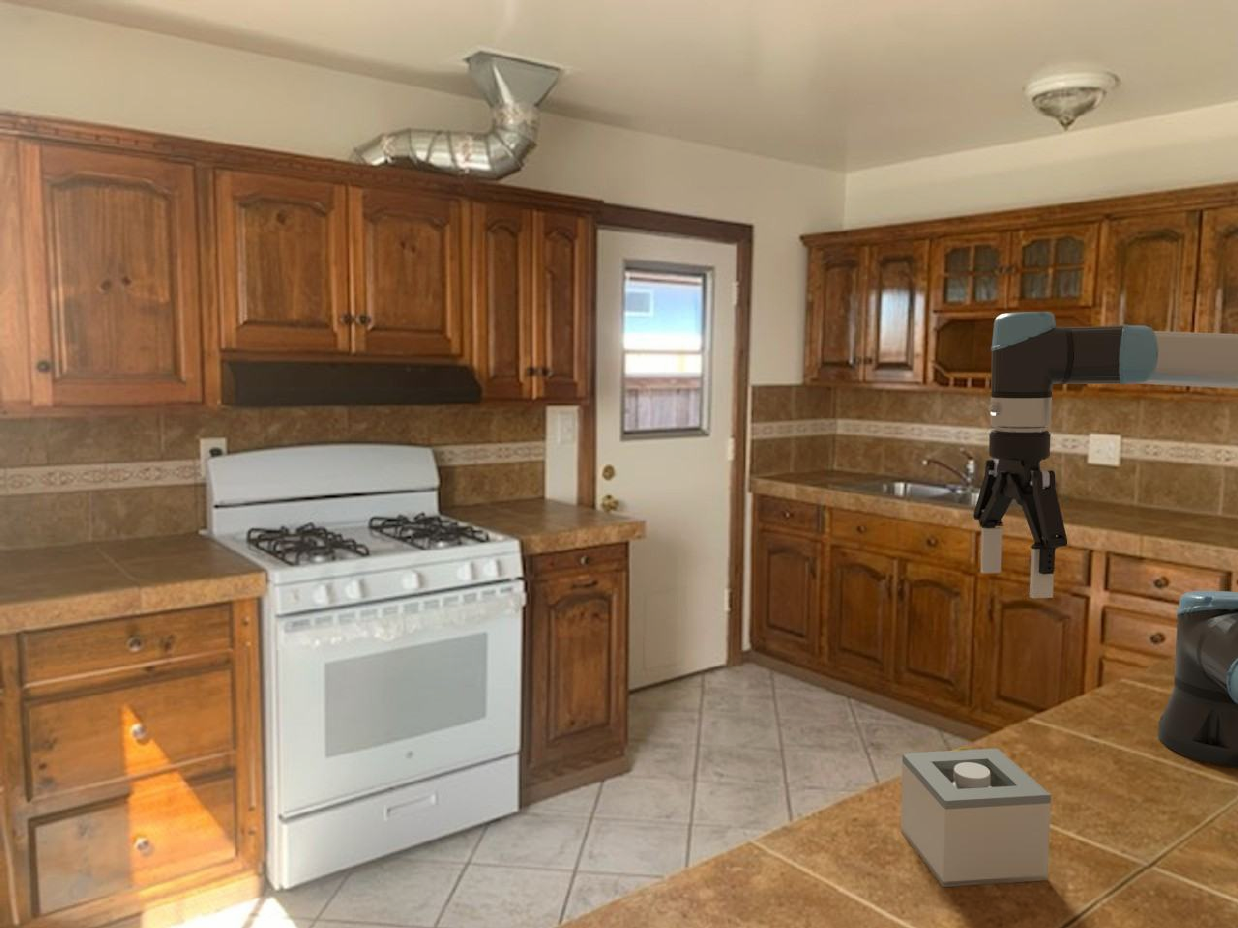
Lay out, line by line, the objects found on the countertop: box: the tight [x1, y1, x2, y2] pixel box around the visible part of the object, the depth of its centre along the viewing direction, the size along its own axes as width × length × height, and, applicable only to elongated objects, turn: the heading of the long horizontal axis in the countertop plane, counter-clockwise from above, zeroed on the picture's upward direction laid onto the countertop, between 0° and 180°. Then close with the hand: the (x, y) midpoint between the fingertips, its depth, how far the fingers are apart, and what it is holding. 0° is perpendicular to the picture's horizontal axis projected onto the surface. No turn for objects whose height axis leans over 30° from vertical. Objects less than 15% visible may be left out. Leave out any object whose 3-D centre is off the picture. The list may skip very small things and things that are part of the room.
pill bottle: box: [952, 762, 992, 789], centre depth 107 cm, size 5×5×10 cm
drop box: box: [900, 748, 1052, 888], centre depth 107 cm, size 12×12×10 cm
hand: (1014, 584), depth 125 cm, fingers open, 13 cm apart
